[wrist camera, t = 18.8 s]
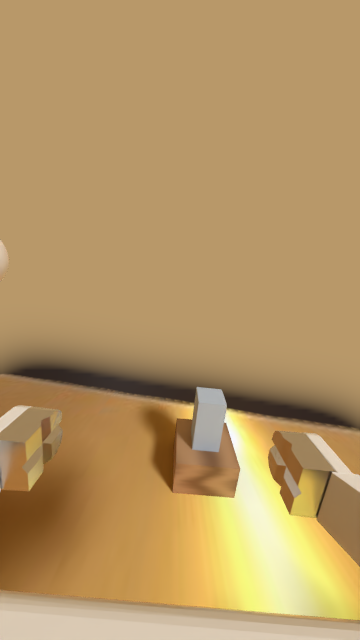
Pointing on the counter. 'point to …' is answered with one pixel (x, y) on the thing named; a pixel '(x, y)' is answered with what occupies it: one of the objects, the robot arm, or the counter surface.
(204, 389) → the slate block
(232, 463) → the walnut block
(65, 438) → the counter surface
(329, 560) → the counter surface
